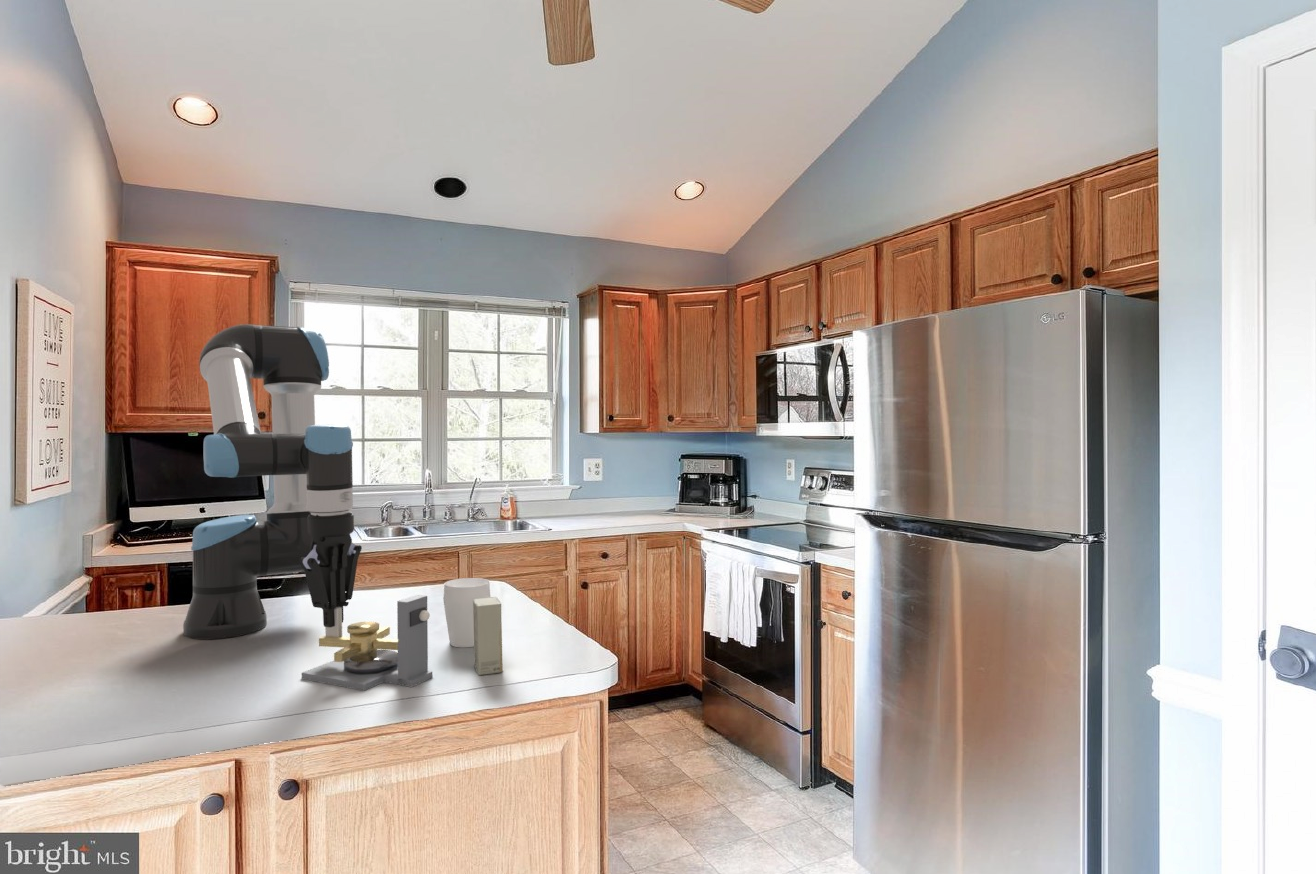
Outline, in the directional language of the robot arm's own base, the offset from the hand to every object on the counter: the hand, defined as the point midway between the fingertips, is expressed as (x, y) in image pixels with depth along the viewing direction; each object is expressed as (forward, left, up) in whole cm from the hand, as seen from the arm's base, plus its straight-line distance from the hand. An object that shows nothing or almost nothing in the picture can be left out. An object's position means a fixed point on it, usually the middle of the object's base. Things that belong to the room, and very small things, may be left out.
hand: (334, 643), depth 134 cm
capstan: (+7, 0, -3) cm, 8 cm away
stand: (+10, 0, -4) cm, 11 cm away
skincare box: (+26, +10, -5) cm, 28 cm away
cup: (+13, +21, -5) cm, 25 cm away
